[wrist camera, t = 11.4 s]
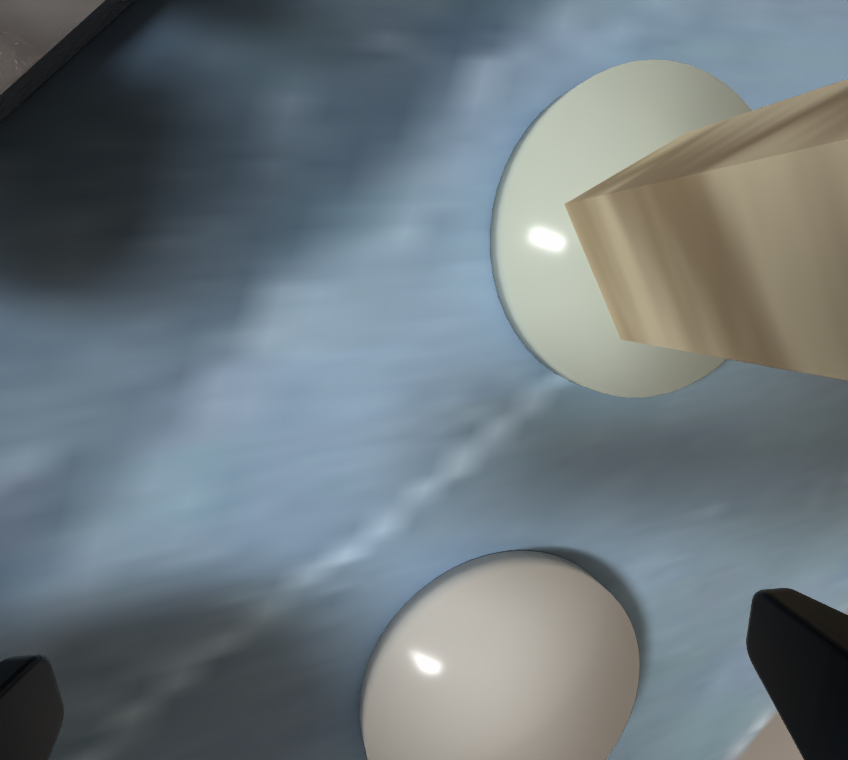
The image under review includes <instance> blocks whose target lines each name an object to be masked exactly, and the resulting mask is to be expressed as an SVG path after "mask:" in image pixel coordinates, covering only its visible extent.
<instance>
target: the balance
mask: <svg viewBox="0 0 848 760" xmlns="http://www.w3.org/2000/svg"><path fill="white" fill-rule="evenodd" d="M134 1H135V0H0V122H1V121H2V120H3V119H5V118H6V117H7V116H8V115H9V114H10V113H11V112H12V111H13V110H14V109H16V108H17V107H18V106H19V105H20V104H21V103H22V102H23V101H24V100H25V99H27V98H28V97H29V96H30V95H31V94H32V93H33V92H34V91H35V90H36V89H38V88H39V87H40V86H41V85H42V84H43V83H44V82H45V81H46V80H48V79H49V78H50V77H51V76H52V75H53V74H54V73H55V72H56V71H57V70H59V69H60V68H61V67H62V66H63V65H64V64H65V63H66V62H67V61H68V60H70V59H71V58H72V57H73V56H74V55H75V54H76V53H77V52H78V51H79V50H81V49H82V48H83V47H84V46H85V45H86V44H87V43H88V42H89V41H91V40H92V39H93V38H94V37H95V36H96V35H97V34H98V33H99V32H100V31H102V30H103V29H104V28H105V27H106V26H107V25H108V24H109V23H110V22H111V21H113V20H114V19H115V18H116V17H117V16H118V15H119V14H120V13H121V12H123V11H124V10H125V9H126V8H127V7H128V6H129V5H130V4H131V3H132V2H134Z"/></svg>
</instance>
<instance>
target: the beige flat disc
mask: <svg viewBox="0 0 848 760" xmlns="http://www.w3.org/2000/svg"><path fill="white" fill-rule="evenodd" d="M639 668H640V661H639V649H638V644H637V640H636V635H635V632H634V629H633V627H632V624H631V622H630V619H629V617H628V616H627V614H626V612H625V611H624V609H623V607H622V606H621V605H620V603H619V602H618V601H617V600H616V599H615V597H614V596H613V595H612V594H611V593H610V592H609V591H608V590H606V589H605V588H604V587H603V586H602V585H601V584H600V583H599V582H598V581H597V580H595V579H594V578H593V577H592V576H591V575H590V574H589V573H587V572H586V571H585V570H584V569H582V568H581V567H579V566H577V565H576V564H574V563H572V562H571V561H568V560H566V559H563V558H561V557H558V556H556V555H551V554H547V553H543V552H535V551H506V552H501V553H495V554H490V555H486V556H483V557H480V558H476V559H473V560H470V561H468V562H466V563H463V564H461V565H459V566H457V567H455V568H452V569H451V570H449V571H447V572H446V573H444V574H442V575H441V576H439V577H437V578H435V579H434V580H433V581H431V582H430V583H429V584H428V585H426V586H425V587H424V588H422V589H421V590H420V591H418V592H417V593H416V594H415V595H414V596H413V597H412V598H411V599H410V600H409V601H408V602H407V603H406V604H405V605H404V606H403V607H402V608H401V609H400V611H399V612H398V613H397V614H396V615H395V616H394V618H393V619H392V620H391V621H390V623H389V624H388V626H387V627H386V629H385V630H384V632H383V633H382V635H381V636H380V638H379V640H378V642H377V644H376V646H375V648H374V650H373V652H372V654H371V656H370V659H369V661H368V664H367V667H366V670H365V673H364V677H363V681H362V686H361V690H360V702H359V716H360V727H361V732H362V736H363V741H364V745H365V750H366V754H367V759H368V760H606V758H607V757H608V756H609V754H610V753H611V751H612V750H613V748H614V747H615V745H616V743H617V742H618V740H619V738H620V736H621V734H622V732H623V730H624V729H625V726H626V724H627V722H628V719H629V717H630V714H631V712H632V708H633V705H634V702H635V698H636V694H637V688H638V682H639Z"/></svg>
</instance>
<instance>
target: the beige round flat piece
mask: <svg viewBox="0 0 848 760" xmlns="http://www.w3.org/2000/svg"><path fill="white" fill-rule="evenodd" d="M750 111H752V110H751V109H750V108H749V107H748V106H747V104H746V103H745V102H744V101H743V100H742V99H741V97H740V96H739V95H738V94H736V93H735V92H734V91H733V90H732V89H731V88H730V87H728V86H727V85H726V84H725V83H724V82H722V81H720V80H719V79H717V78H716V77H714V76H712V75H711V74H709V73H707V72H705V71H703V70H700V69H698V68H696V67H693V66H691V65H687V64H683V63H679V62H675V61H667V60H643V61H633V62H629V63H626V64H622V65H618V66H614V67H612V68H610V69H608V70H605V71H603V72H601V73H599V74H596V75H594V76H593V77H591V78H589V79H588V80H586V81H584V82H583V83H581V84H579V85H577V86H576V87H574V88H573V89H571V90H569V91H568V92H566V93H565V94H563V95H562V96H560V97H559V98H557V99H556V100H555V101H554V102H552V103H551V104H550V105H549V106H548V107H547V108H546V109H544V110H543V111H542V112H541V113H540V114H539V115H538V117H537V118H536V119H535V120H534V121H533V122H532V123H531V124H530V126H529V127H528V128H527V129H526V131H525V132H524V134H523V135H522V137H521V138H520V140H519V141H518V143H517V144H516V146H515V147H514V149H513V151H512V153H511V155H510V157H509V159H508V161H507V163H506V165H505V168H504V171H503V173H502V176H501V179H500V182H499V185H498V187H497V191H496V196H495V200H494V205H493V209H492V217H491V227H490V258H491V265H492V273H493V279H494V282H495V286H496V290H497V294H498V298H499V300H500V303H501V305H502V308H503V310H504V313H505V315H506V317H507V319H508V321H509V323H510V325H511V326H512V328H513V330H514V332H515V334H516V335H517V336H518V338H519V339H520V340H521V342H522V343H523V344H524V346H525V347H526V348H527V350H528V351H529V352H530V353H531V354H532V355H533V356H534V357H535V358H536V359H537V360H538V361H539V362H540V363H542V364H543V365H544V366H546V367H547V368H548V369H550V370H551V371H552V372H554V373H555V374H557V375H559V376H561V377H563V378H564V379H566V380H568V381H570V382H573V383H576V384H578V385H581V386H584V387H587V388H590V389H592V390H595V391H598V392H601V393H604V394H608V395H614V396H619V397H631V398H642V397H651V396H658V395H662V394H666V393H670V392H674V391H676V390H679V389H681V388H683V387H686V386H688V385H690V384H692V383H694V382H696V381H697V380H699V379H701V378H703V377H704V376H706V375H707V374H709V373H710V372H711V371H713V370H714V369H715V368H717V367H718V366H719V365H721V364H722V363H723V362H724V361H725V360H726V359H725V358H720V357H714V356H709V355H703V354H698V353H692V352H687V351H681V350H676V349H670V348H665V347H659V346H654V345H648V344H643V343H637V342H632V341H626V340H621V339H620V336H619V334H618V331H617V329H616V327H615V324H614V322H613V319H612V317H611V315H610V312H609V310H608V308H607V305H606V303H605V300H604V298H603V296H602V293H601V291H600V288H599V286H598V284H597V281H596V279H595V277H594V274H593V272H592V269H591V267H590V265H589V262H588V260H587V257H586V255H585V253H584V250H583V248H582V246H581V243H580V241H579V238H578V236H577V234H576V231H575V229H574V226H573V224H572V222H571V219H570V217H569V215H568V212H567V210H566V207H565V205H564V204H565V203H567V202H569V201H570V200H572V199H574V198H576V197H577V196H579V195H581V194H582V193H584V192H586V191H587V190H589V189H591V188H593V187H594V186H596V185H598V184H599V183H601V182H603V181H605V180H606V179H608V178H610V177H611V176H613V175H615V174H616V173H618V172H620V171H622V170H623V169H625V168H627V167H628V166H630V165H632V164H634V163H635V162H637V161H639V160H640V159H642V158H644V157H646V156H647V155H649V154H651V153H652V152H654V151H656V150H657V149H659V148H661V147H663V146H664V145H666V144H668V143H669V142H671V141H673V140H675V139H676V138H678V137H680V136H681V135H683V134H685V133H687V132H690V131H693V130H696V129H699V128H702V127H705V126H708V125H711V124H714V123H717V122H720V121H723V120H726V119H729V118H732V117H735V116H738V115H741V114H744V113H747V112H750Z"/></svg>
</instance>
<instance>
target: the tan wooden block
mask: <svg viewBox="0 0 848 760" xmlns="http://www.w3.org/2000/svg"><path fill="white" fill-rule="evenodd" d="M564 205H565V207H566V210H567V212H568V215H569V217H570V219H571V222H572V224H573V226H574V229H575V231H576V234H577V236H578V238H579V241H580V243H581V246H582V248H583V250H584V253H585V255H586V257H587V260H588V262H589V265H590V267H591V269H592V272H593V274H594V277H595V279H596V281H597V284H598V286H599V288H600V291H601V293H602V296H603V298H604V300H605V303H606V305H607V308H608V310H609V312H610V315H611V317H612V319H613V322H614V324H615V327H616V329H617V331H618V334H619V336H620V339H621V340H626V341H632V342H637V343H643V344H648V345H654V346H659V347H665V348H670V349H676V350H681V351H687V352H692V353H698V354H703V355H709V356H714V357H720V358H725V359H730V360H736V361H741V362H747V363H752V364H758V365H763V366H769V367H774V368H780V369H785V370H791V371H796V372H802V373H807V374H813V375H818V376H824V377H829V378H835V379H840V380H846V381H848V79H846V80H843V81H840V82H837V83H834V84H831V85H828V86H825V87H822V88H819V89H816V90H813V91H810V92H807V93H804V94H801V95H798V96H795V97H792V98H789V99H786V100H783V101H780V102H777V103H774V104H771V105H768V106H765V107H762V108H759V109H756V110H753V111H750V112H747V113H744V114H741V115H738V116H735V117H732V118H729V119H726V120H723V121H720V122H717V123H714V124H711V125H708V126H705V127H702V128H699V129H696V130H693V131H690V132H687V133H685V134H683V135H681V136H680V137H678V138H676V139H675V140H673V141H671V142H669V143H668V144H666V145H664V146H663V147H661V148H659V149H657V150H656V151H654V152H652V153H651V154H649V155H647V156H646V157H644V158H642V159H640V160H639V161H637V162H635V163H634V164H632V165H630V166H628V167H627V168H625V169H623V170H622V171H620V172H618V173H616V174H615V175H613V176H611V177H610V178H608V179H606V180H605V181H603V182H601V183H599V184H598V185H596V186H594V187H593V188H591V189H589V190H587V191H586V192H584V193H582V194H581V195H579V196H577V197H576V198H574V199H572V200H570V201H569V202H567V203H565V204H564Z"/></svg>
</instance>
